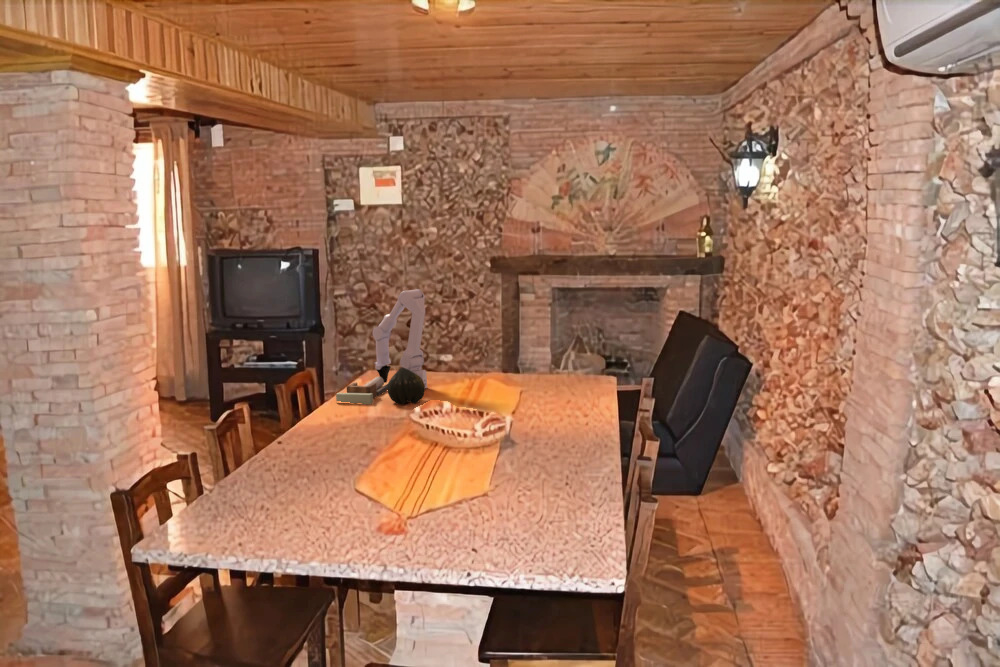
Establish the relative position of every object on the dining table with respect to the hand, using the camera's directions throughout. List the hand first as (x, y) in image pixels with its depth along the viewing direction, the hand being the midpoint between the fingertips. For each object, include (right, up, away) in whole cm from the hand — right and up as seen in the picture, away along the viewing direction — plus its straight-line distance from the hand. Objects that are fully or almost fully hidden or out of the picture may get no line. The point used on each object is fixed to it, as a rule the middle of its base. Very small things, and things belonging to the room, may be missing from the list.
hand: (384, 382), depth 349 cm
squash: (+14, -6, -34) cm, 37 cm away
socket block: (-5, -5, -25) cm, 26 cm away
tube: (-3, -4, -13) cm, 14 cm away
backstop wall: (-7, -7, -33) cm, 34 cm away
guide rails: (-2, -3, -8) cm, 9 cm away
